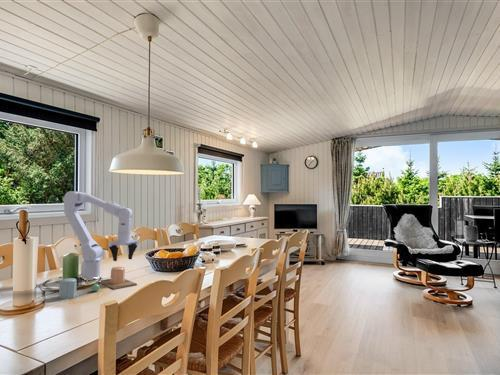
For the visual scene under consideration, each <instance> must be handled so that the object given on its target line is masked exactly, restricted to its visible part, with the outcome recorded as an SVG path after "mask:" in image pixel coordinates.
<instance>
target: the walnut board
mask: <svg viewBox="0 0 500 375" xmlns="http://www.w3.org/2000/svg"><path fill="white" fill-rule="evenodd" d="M100 280H101V282H100V283H99V284H102V285H103V286H105V287H108V288H109V289H112V290H114V291H115V290H119V289H125V288H129V287H130V288H131V287H134V286H138V284H137V283H136V282H133V281H131V280H128V279H126V278H124V283H121V284H112V283H110V280H111V278H106V279H105V278H104V279H100Z"/></svg>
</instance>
